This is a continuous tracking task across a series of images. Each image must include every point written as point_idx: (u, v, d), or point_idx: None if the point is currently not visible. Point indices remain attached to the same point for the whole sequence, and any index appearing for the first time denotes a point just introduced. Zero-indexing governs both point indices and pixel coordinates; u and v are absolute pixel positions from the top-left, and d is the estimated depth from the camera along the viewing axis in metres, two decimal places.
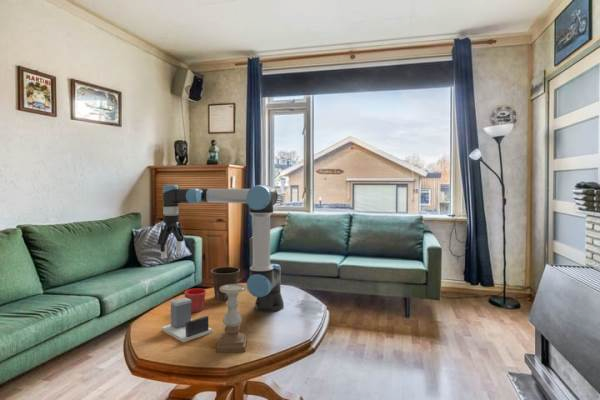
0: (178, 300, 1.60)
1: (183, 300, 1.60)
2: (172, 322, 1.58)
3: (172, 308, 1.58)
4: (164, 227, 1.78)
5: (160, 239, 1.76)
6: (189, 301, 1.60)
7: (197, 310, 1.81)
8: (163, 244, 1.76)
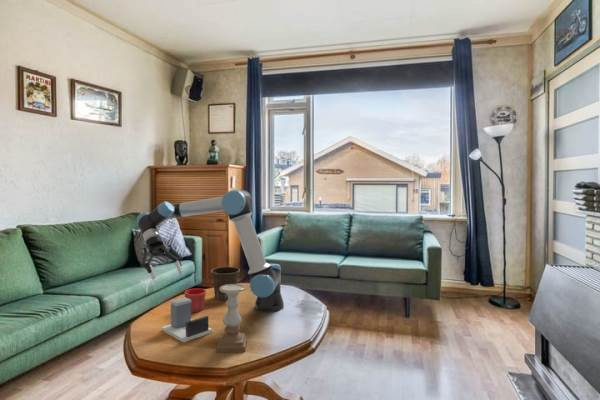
0: (178, 300, 1.60)
1: (183, 300, 1.60)
2: (172, 322, 1.58)
3: (172, 308, 1.58)
4: (143, 250, 1.69)
5: (142, 261, 1.65)
6: (189, 301, 1.60)
7: (197, 310, 1.81)
8: (146, 264, 1.64)
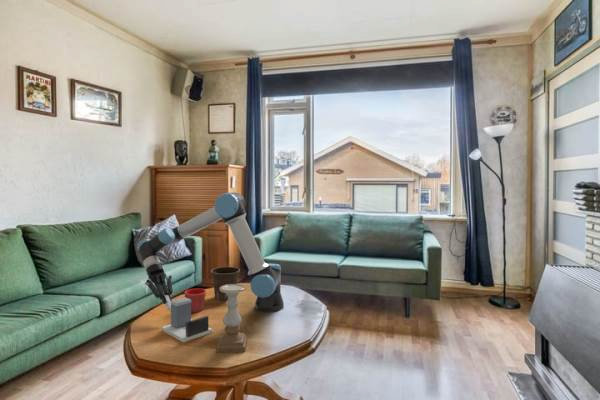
0: (178, 300, 1.60)
1: (183, 300, 1.60)
2: (172, 322, 1.58)
3: (172, 308, 1.58)
4: (147, 282, 1.68)
5: (155, 293, 1.67)
6: (189, 301, 1.60)
7: (197, 310, 1.81)
8: (162, 295, 1.67)
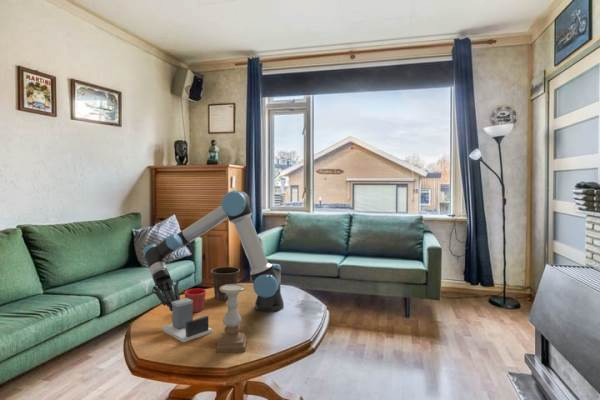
0: (180, 301, 1.59)
1: (185, 301, 1.59)
2: (174, 323, 1.57)
3: (174, 309, 1.57)
4: (154, 289, 1.64)
5: (162, 300, 1.63)
6: (191, 302, 1.59)
7: (197, 310, 1.81)
8: (169, 302, 1.63)
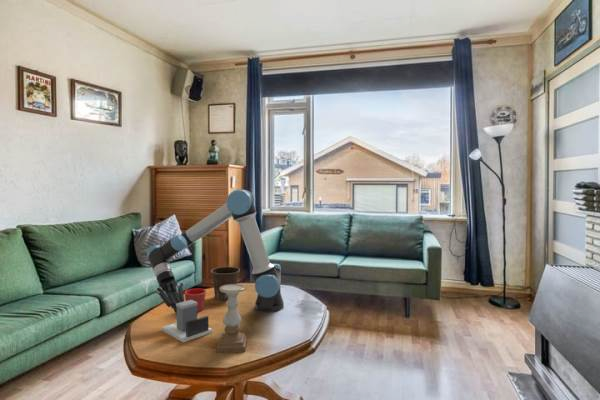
0: (184, 303, 1.56)
1: (189, 303, 1.56)
2: (178, 325, 1.55)
3: (178, 311, 1.55)
4: (158, 291, 1.61)
5: (166, 302, 1.60)
6: (195, 303, 1.57)
7: (197, 310, 1.81)
8: (173, 304, 1.60)
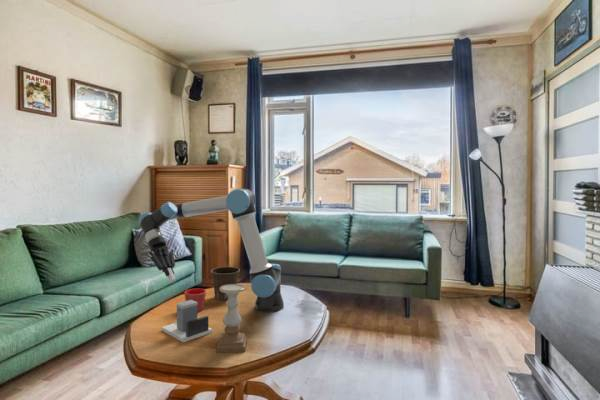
0: (184, 303, 1.56)
1: (189, 303, 1.56)
2: (178, 325, 1.55)
3: (178, 311, 1.55)
4: (150, 254, 1.67)
5: (157, 265, 1.66)
6: (195, 303, 1.57)
7: (197, 310, 1.81)
8: (164, 267, 1.66)
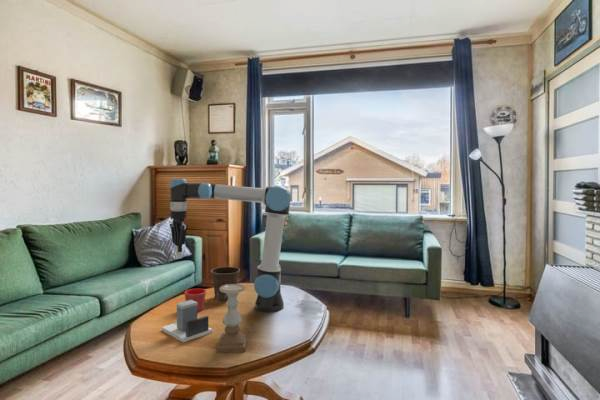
0: (184, 303, 1.56)
1: (189, 303, 1.56)
2: (178, 325, 1.55)
3: (178, 311, 1.55)
4: (186, 228, 1.71)
5: (183, 240, 1.72)
6: (195, 303, 1.57)
7: (197, 310, 1.81)
8: None
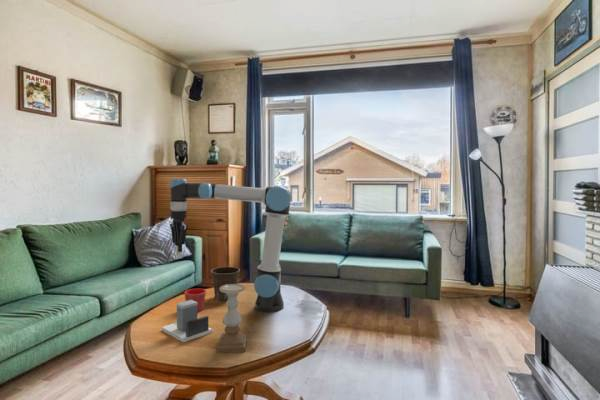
0: (184, 303, 1.56)
1: (189, 303, 1.56)
2: (178, 325, 1.55)
3: (178, 311, 1.55)
4: (186, 228, 1.71)
5: (183, 240, 1.72)
6: (195, 303, 1.57)
7: (197, 310, 1.81)
8: (182, 244, 1.75)
